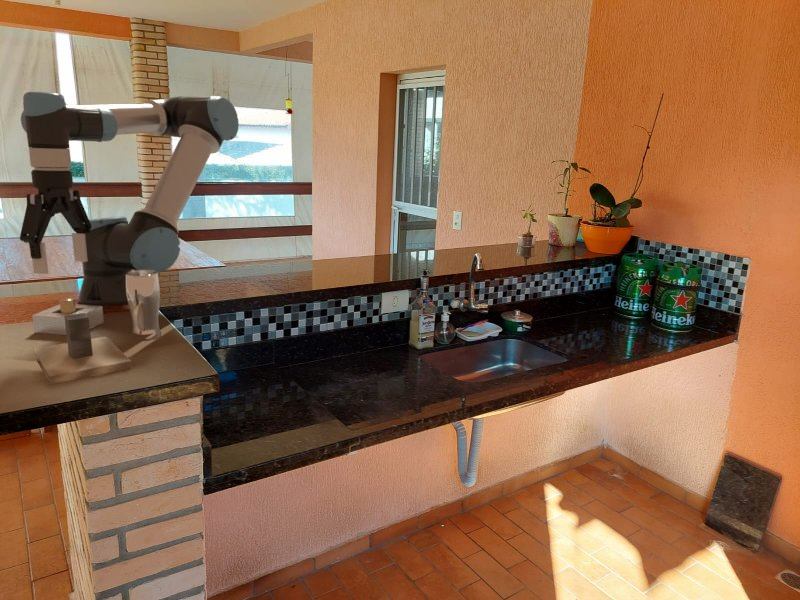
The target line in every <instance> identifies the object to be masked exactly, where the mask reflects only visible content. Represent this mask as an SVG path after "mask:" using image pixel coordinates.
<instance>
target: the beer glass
mask: <svg viewBox="0 0 800 600" xmlns="http://www.w3.org/2000/svg"><path fill="white" fill-rule="evenodd" d="M159 280H160V279H159V272H157V271H155V270H132V271H129V272H127V273H126V296H127V301H128V305H127V306H128V308H129V311H130V315H131V319H132V334H135V335H139V336H141V335H143V336H145V335H148V336H147V337H145V338H144V339H142V340H141V342H146V341H154V340H157V339H160V337H162V332H161V328H160V325H159V312H160V304H161V287H160V281H159Z"/></svg>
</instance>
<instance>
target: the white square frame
mask: <svg viewBox="0 0 800 600" xmlns="http://www.w3.org/2000/svg"><path fill="white" fill-rule="evenodd" d="M75 307H76V312H75V313H73V314H81V313H85V314H86V315H87V316H88V317H89V324H90V330H91V329H93V328H95V327H97V326H99V325H101V324H103V323H105V321H104V320H105V319H104V310H103V305H87V304H77V303H75ZM73 314H62V313H61V309H60V303H59V304H57V305H54V306H52V307H50V308H49V307H48V308H46V309H44V310H42V311H39V312H37V313H34V314H32V315H31V317H32V324H33V331H34V333H35V334H48V335H50V334H51V335H62V336H67V334H66V325H65V317H64V316H66V315H73Z"/></svg>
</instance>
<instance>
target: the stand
mask: <svg viewBox="0 0 800 600" xmlns="http://www.w3.org/2000/svg"><path fill="white" fill-rule="evenodd" d="M58 302H59V304H60V309H61V313H62V314H73V313H75V312H76V307H75V304H76V300H75V298H72V297H67V298H62V299H61V298H60V299H59V301H58Z"/></svg>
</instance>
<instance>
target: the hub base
mask: <svg viewBox="0 0 800 600" xmlns="http://www.w3.org/2000/svg"><path fill="white" fill-rule="evenodd" d="M64 317H65V325H66V334H67V335H66V341H67V342H64V343H58V344H52V345H46V346H40V347H34V348H32V350H33V352H34V353H35V354H36V356H37V359H38V360H36V362H37V363H38V365H39V367H40V368H41V370H42V372H43V373H44V375H45V377H46V379H47V381H48V382H49V384H50V385H54V384H59V383H64V382H69V381H73V380H79V379H85V378H87V377H88V378H89V377H93V376H99V375H103V374H108V373H115V372H118V371H124V370H128V369H132V360H131V359H130V358H129V357H127V355H125V353H124V352H123V351H122V350H121V349H119V348H118V346H117V345H116V344H115V343H114V342H113V341H112V340H111V339H110V338H109V337H108V336H101V337H95V338H92V335H91V329H90V324H89V317H88V316H87V315H86V314H85V313H81V314H73V315H66V316H64Z"/></svg>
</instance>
